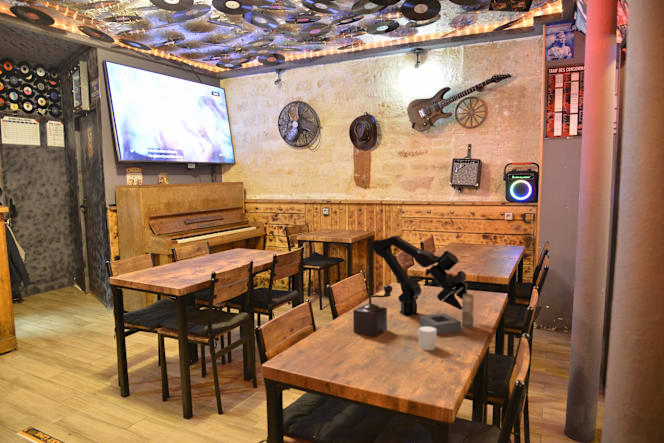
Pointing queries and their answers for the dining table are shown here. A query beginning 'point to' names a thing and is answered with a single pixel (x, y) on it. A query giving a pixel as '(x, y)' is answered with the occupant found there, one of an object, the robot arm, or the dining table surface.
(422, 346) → the shot glass
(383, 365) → the dining table surface
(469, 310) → the peg
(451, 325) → the socket
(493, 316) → the dining table surface
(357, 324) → the pepper mill
